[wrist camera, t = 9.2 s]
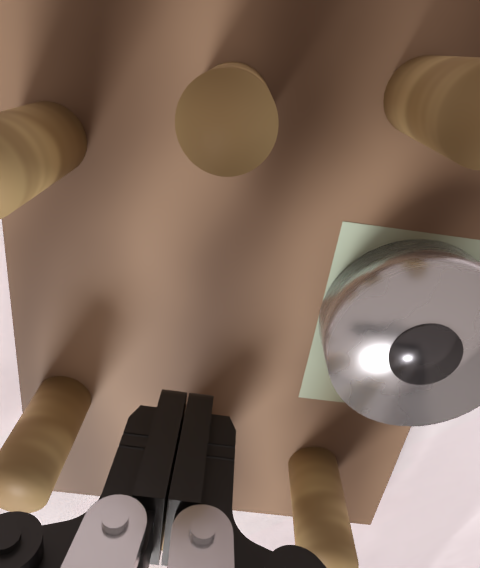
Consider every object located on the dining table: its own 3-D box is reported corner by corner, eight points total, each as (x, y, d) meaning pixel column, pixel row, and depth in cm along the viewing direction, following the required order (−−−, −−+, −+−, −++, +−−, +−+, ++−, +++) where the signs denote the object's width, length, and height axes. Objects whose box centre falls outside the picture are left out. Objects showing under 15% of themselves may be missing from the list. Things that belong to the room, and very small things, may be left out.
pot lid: (521, 248, 17) (562, 279, 15) (461, 393, 20) (487, 436, 18) (336, 229, 17) (350, 257, 15) (305, 378, 20) (312, 420, 18)
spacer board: (553, 12, 15) (743, -10, 9) (364, 500, 26) (397, 629, 20) (-6, -78, 14) (-180, -164, 8) (42, 465, 25) (-20, 589, 19)
